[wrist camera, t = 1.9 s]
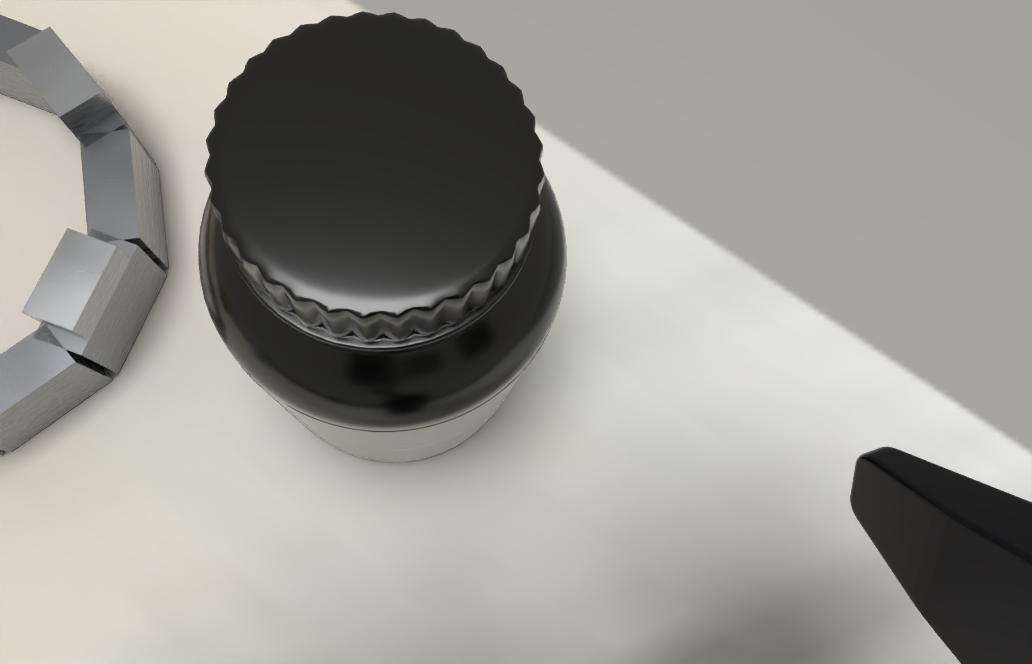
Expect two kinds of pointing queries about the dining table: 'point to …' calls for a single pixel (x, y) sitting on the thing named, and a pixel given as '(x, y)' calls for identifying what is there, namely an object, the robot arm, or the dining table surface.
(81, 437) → the dining table surface
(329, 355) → the supplement bottle
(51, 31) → the grey segmented ring
